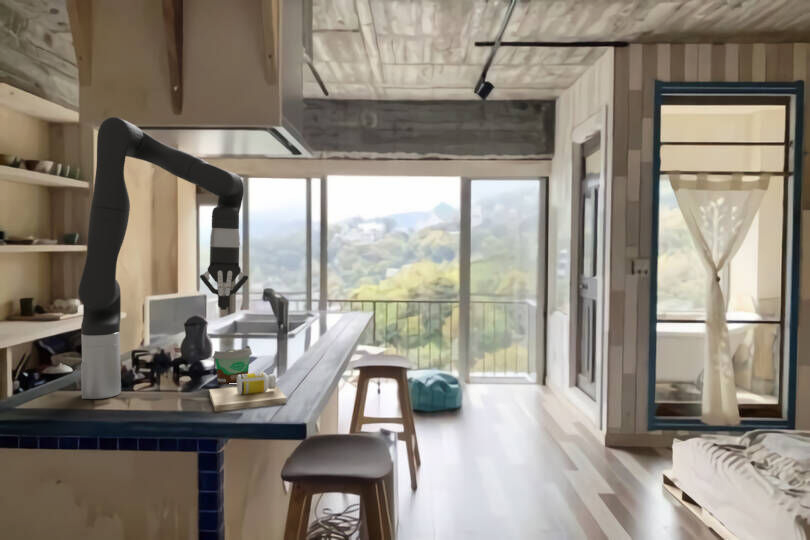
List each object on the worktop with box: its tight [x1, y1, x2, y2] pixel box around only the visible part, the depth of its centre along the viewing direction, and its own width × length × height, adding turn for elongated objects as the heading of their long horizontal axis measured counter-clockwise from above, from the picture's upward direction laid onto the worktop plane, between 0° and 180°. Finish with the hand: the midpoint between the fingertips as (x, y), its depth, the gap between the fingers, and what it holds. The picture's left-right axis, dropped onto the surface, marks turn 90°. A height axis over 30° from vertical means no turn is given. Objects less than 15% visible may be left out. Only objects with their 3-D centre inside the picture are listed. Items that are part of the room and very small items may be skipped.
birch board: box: [208, 384, 288, 412], centre depth 151 cm, size 18×16×2 cm
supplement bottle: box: [236, 371, 277, 395], centre depth 152 cm, size 5×5×10 cm
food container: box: [213, 344, 253, 385], centre depth 168 cm, size 12×6×10 cm, turn 143°
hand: (223, 309), depth 152 cm, fingers closed
